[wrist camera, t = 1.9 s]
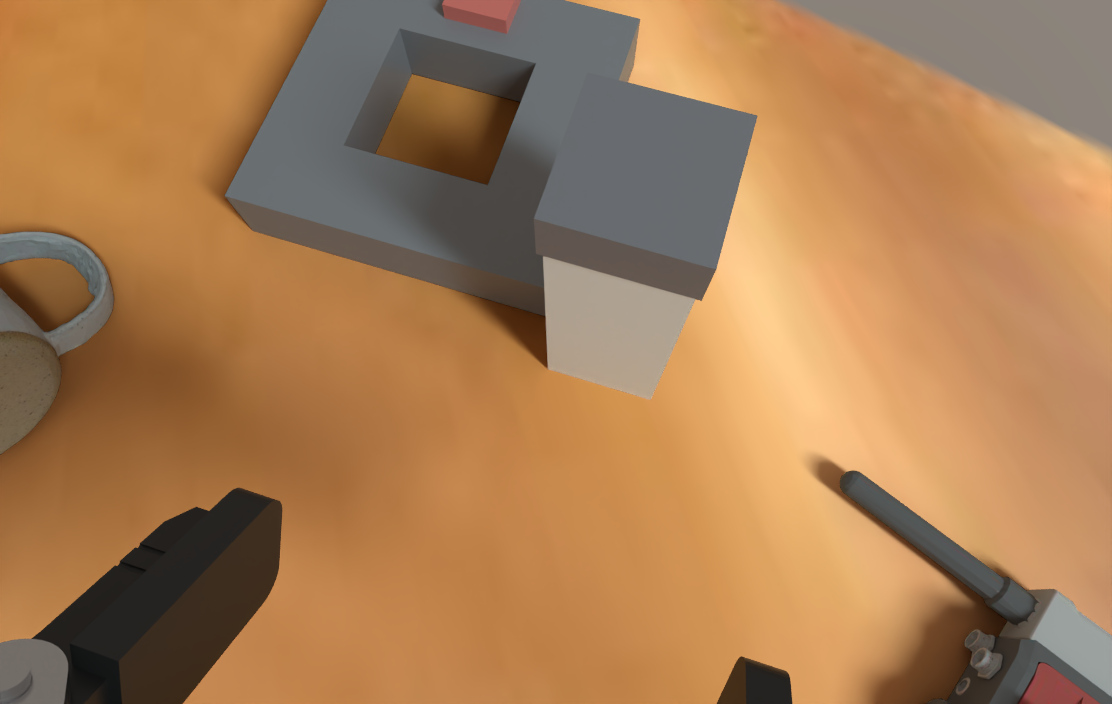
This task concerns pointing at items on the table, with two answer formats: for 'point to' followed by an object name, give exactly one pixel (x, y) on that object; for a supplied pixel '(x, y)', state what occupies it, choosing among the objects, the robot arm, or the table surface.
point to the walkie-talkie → (1028, 636)
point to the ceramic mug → (42, 333)
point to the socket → (409, 190)
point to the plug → (634, 227)
